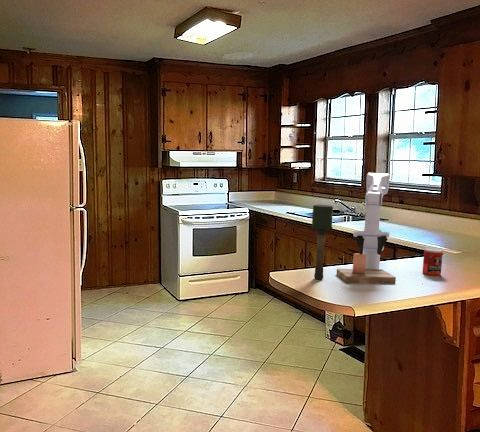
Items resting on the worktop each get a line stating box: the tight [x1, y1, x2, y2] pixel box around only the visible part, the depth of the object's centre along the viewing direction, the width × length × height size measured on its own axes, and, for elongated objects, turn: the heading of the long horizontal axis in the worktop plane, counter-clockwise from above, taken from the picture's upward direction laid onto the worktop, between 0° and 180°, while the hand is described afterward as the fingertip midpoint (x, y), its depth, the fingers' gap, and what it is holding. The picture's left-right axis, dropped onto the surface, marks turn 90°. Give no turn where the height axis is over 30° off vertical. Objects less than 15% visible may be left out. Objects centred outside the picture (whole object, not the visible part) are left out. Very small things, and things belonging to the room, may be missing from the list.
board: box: [336, 268, 397, 284], centre depth 216 cm, size 14×20×2 cm
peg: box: [352, 252, 366, 274], centre depth 215 cm, size 5×5×10 cm
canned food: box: [422, 247, 444, 277], centre depth 230 cm, size 8×8×11 cm
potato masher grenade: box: [310, 204, 334, 281], centre depth 211 cm, size 8×9×30 cm
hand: (369, 254), depth 216 cm, fingers open, 7 cm apart
